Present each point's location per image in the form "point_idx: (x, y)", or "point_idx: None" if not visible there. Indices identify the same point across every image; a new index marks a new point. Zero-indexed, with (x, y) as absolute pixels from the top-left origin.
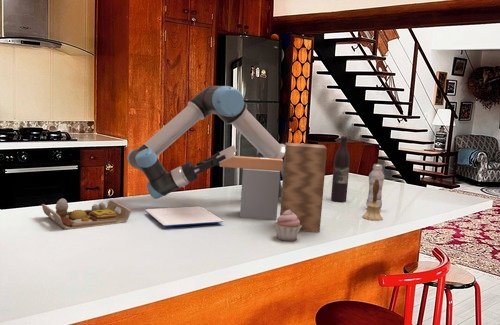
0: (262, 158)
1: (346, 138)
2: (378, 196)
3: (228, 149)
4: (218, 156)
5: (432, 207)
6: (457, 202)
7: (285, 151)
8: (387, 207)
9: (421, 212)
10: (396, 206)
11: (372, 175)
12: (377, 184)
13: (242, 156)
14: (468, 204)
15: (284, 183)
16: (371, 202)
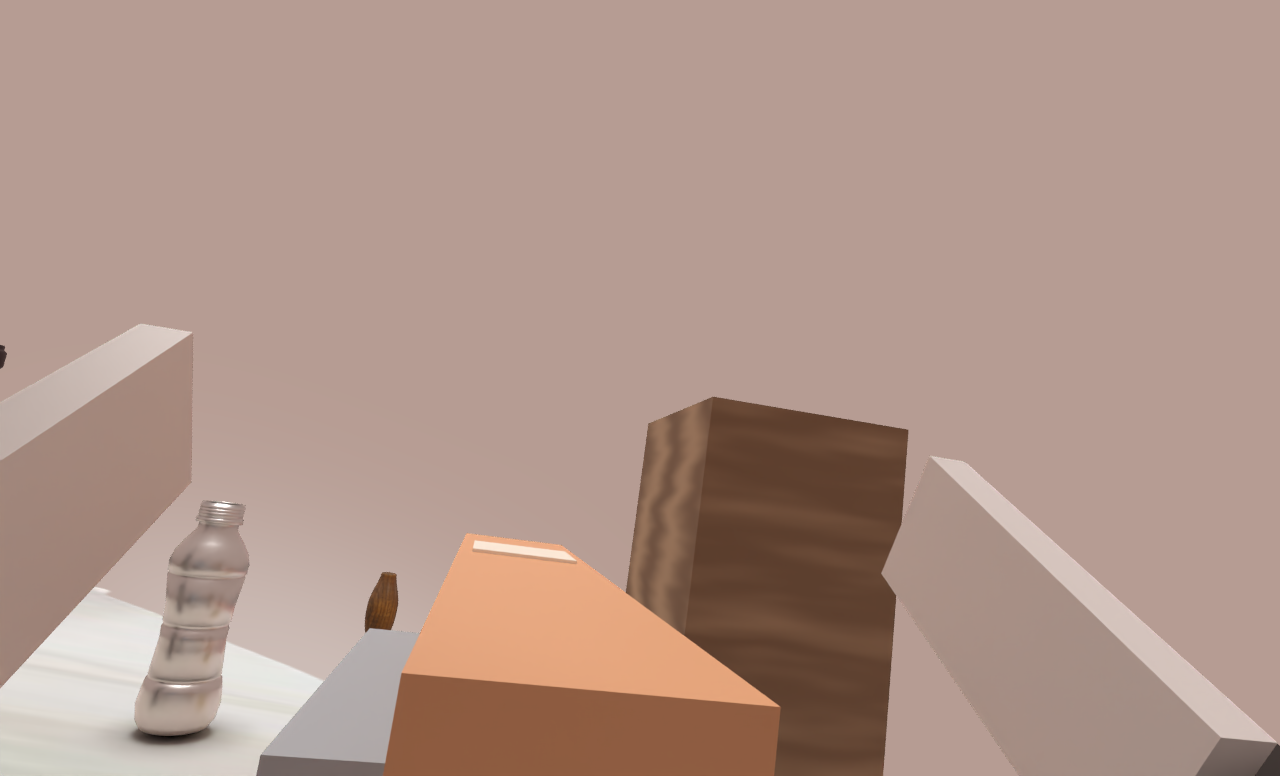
0: (550, 555)
1: (5, 357)
2: (223, 655)
3: (98, 439)
4: (1197, 696)
5: (154, 645)
6: (85, 609)
7: (813, 470)
8: (128, 701)
9: (237, 672)
10: (113, 684)
11: (227, 559)
12: (397, 594)
13: (450, 576)
14: (123, 607)
15: (884, 717)
16: (205, 696)
